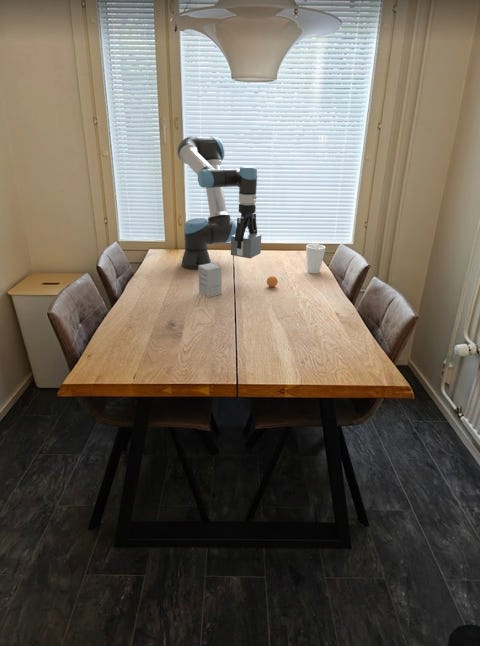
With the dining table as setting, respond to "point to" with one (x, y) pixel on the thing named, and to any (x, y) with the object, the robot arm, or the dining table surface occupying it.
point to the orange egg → (272, 281)
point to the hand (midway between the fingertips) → (245, 252)
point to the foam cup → (314, 257)
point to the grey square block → (247, 245)
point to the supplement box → (209, 279)
